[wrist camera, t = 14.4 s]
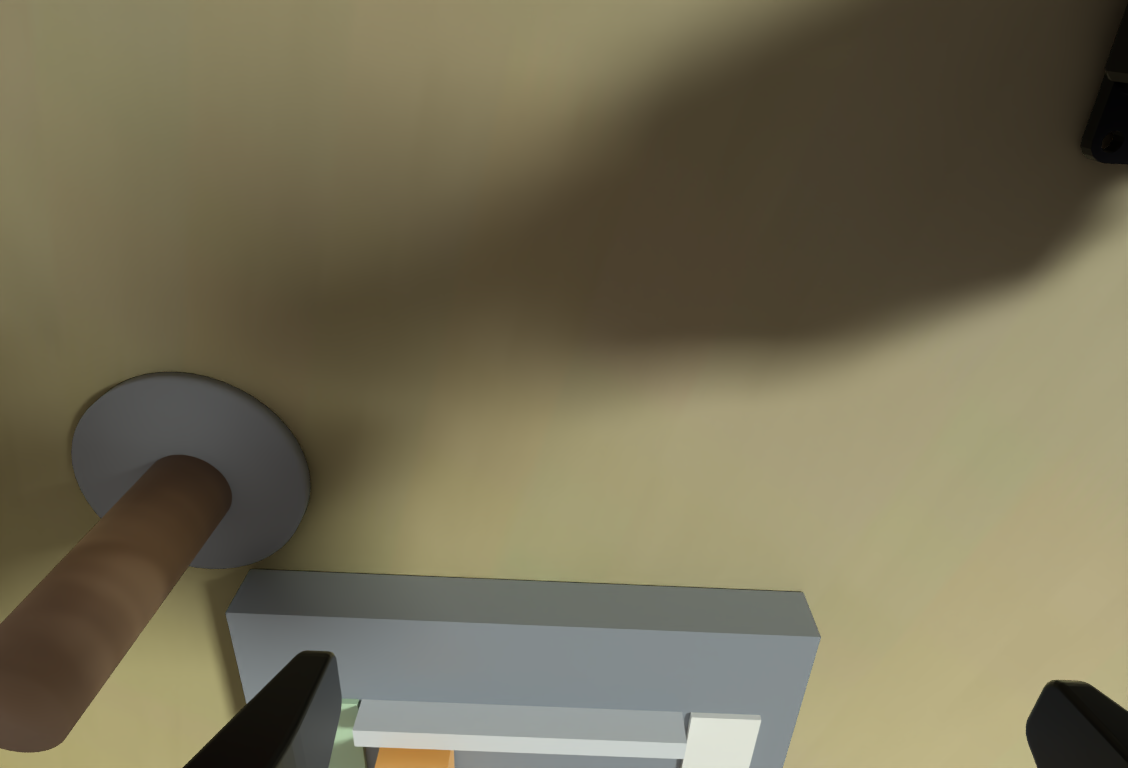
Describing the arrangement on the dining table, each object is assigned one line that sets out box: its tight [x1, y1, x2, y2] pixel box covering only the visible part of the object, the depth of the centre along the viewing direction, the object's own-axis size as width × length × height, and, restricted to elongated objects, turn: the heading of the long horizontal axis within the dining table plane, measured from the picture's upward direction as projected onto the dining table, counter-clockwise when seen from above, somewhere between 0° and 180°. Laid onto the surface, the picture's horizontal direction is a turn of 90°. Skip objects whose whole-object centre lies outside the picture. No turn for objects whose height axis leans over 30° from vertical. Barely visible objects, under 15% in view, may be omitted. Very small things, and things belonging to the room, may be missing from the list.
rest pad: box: [71, 372, 311, 569], centre depth 23 cm, size 7×7×1 cm
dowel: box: [0, 455, 232, 752], centre depth 19 cm, size 3×3×8 cm
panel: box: [225, 569, 821, 768], centre depth 26 cm, size 19×13×3 cm
